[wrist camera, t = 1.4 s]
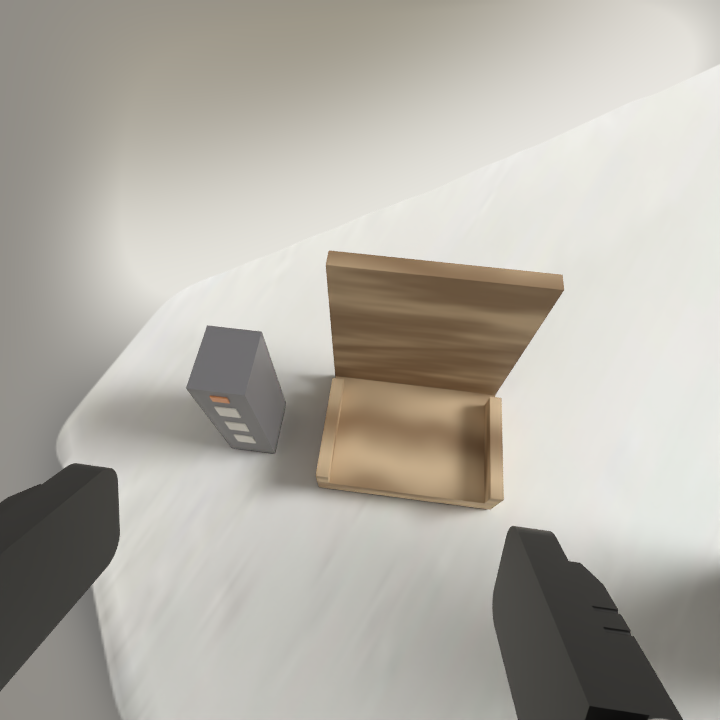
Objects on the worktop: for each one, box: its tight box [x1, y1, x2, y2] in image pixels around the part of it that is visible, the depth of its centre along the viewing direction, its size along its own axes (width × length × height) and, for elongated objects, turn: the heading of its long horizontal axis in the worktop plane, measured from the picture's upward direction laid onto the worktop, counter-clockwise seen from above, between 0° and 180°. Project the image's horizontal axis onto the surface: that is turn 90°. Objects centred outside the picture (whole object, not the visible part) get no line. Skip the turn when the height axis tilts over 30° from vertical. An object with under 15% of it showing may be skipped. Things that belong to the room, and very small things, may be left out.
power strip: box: [186, 326, 286, 453], centre depth 37 cm, size 5×4×13 cm
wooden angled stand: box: [316, 251, 564, 509], centre depth 35 cm, size 11×15×18 cm
